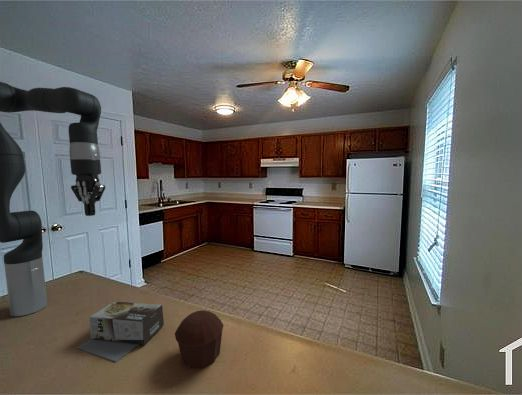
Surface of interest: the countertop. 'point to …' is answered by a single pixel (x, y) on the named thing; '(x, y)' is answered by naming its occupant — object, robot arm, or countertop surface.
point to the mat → (107, 348)
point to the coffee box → (127, 322)
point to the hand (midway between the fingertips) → (90, 215)
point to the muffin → (199, 339)
